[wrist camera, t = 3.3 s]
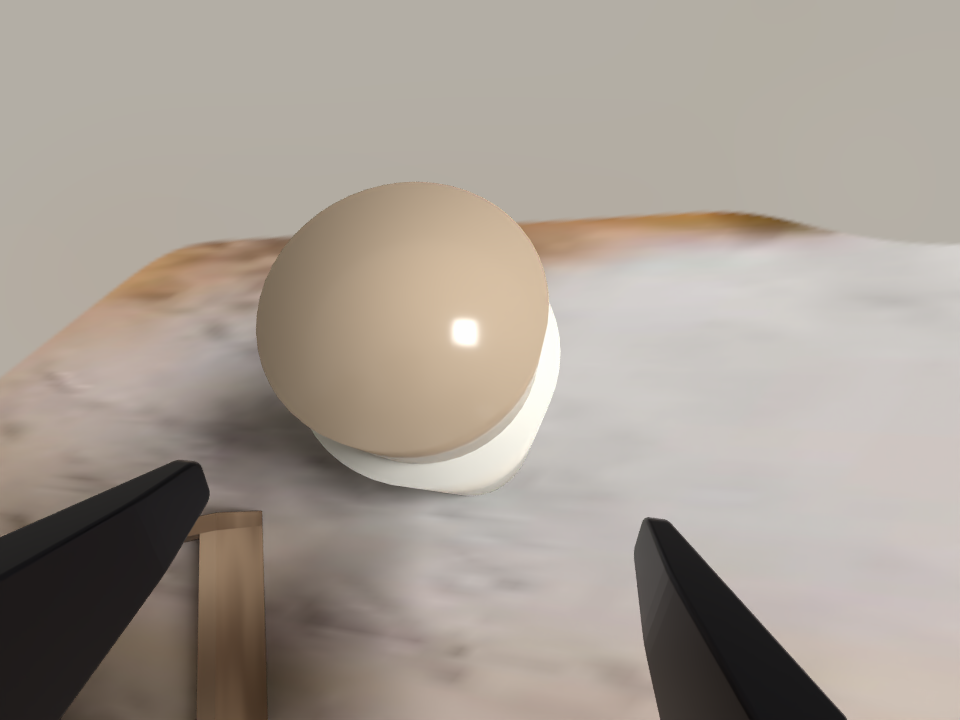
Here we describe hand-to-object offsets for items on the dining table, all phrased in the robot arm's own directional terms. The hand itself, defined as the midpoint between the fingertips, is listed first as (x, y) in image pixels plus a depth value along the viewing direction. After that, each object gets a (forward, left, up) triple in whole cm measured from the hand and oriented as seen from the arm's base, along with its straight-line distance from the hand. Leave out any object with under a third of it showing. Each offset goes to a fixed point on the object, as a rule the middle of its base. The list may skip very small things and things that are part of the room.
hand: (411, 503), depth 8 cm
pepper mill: (+3, -1, -10) cm, 10 cm away
